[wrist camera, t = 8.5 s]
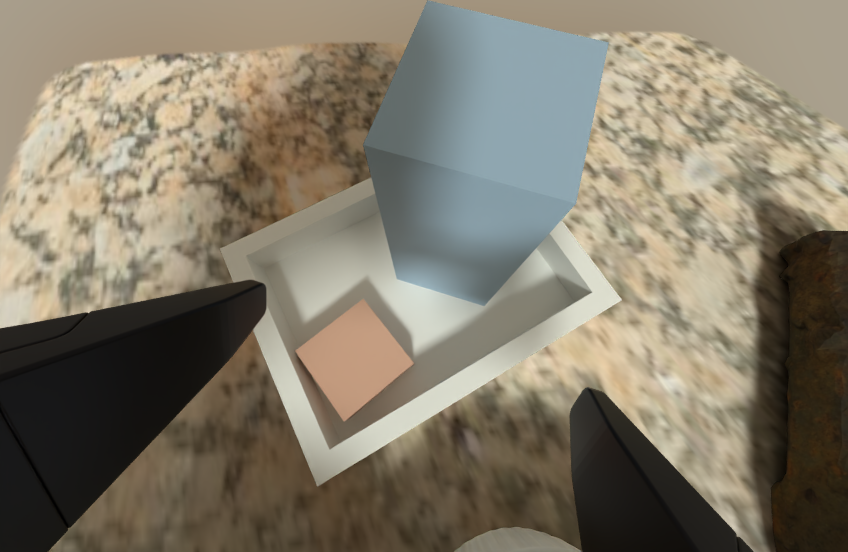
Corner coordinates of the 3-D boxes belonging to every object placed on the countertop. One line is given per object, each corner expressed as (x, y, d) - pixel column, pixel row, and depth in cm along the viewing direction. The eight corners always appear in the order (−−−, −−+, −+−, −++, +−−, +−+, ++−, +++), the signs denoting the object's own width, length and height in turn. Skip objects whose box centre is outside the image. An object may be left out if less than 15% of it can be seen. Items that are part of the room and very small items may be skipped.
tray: (335, 467, 16) (317, 486, 13) (249, 267, 19) (219, 248, 16) (591, 311, 19) (622, 300, 16) (479, 155, 22) (487, 122, 19)
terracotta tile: (351, 417, 16) (344, 421, 15) (305, 352, 17) (294, 350, 16) (414, 364, 17) (413, 363, 15) (367, 305, 18) (363, 298, 16)
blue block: (484, 306, 18) (575, 203, 7) (396, 279, 18) (363, 145, 8) (505, 226, 19) (608, 42, 9) (424, 202, 20) (427, 0, 9)
